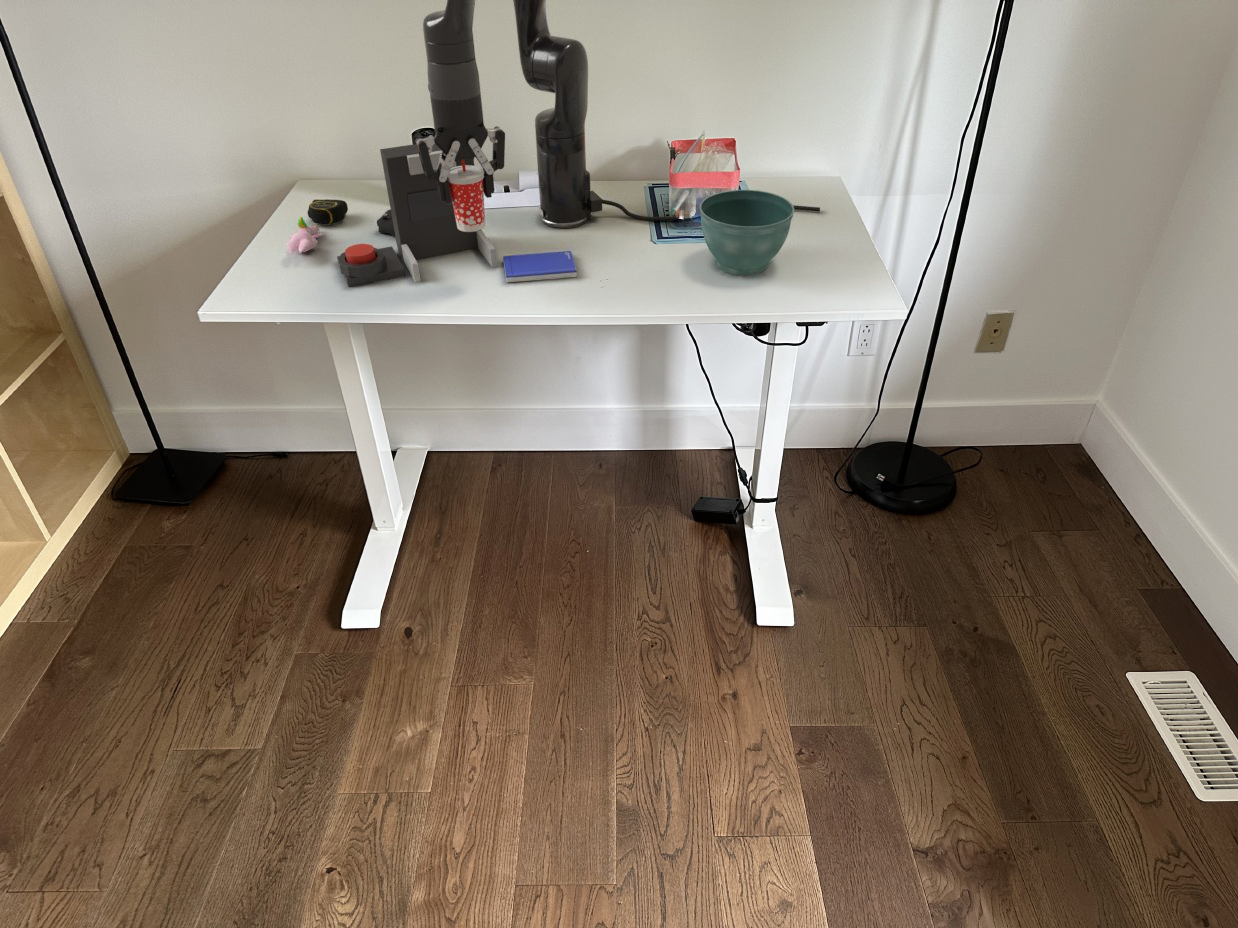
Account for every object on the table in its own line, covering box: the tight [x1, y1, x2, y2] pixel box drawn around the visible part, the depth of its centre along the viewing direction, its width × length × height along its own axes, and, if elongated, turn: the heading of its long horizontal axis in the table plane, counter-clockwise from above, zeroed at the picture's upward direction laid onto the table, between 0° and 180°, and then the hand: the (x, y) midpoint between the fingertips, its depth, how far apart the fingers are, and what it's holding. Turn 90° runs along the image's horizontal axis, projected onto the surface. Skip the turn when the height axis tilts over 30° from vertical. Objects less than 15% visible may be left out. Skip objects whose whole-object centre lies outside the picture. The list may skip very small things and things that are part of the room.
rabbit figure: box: [285, 216, 324, 255], centre depth 160 cm, size 6×6×15 cm
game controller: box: [376, 208, 396, 238], centre depth 168 cm, size 10×5×6 cm
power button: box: [344, 243, 376, 264], centre depth 151 cm, size 5×5×2 cm
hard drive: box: [502, 250, 578, 283], centre depth 154 cm, size 2×8×12 cm
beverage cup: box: [447, 159, 486, 232], centre depth 138 cm, size 6×6×14 cm
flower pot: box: [699, 189, 795, 276], centre depth 153 cm, size 16×16×11 cm
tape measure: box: [307, 199, 349, 226], centre depth 171 cm, size 7×7×4 cm
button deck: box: [336, 246, 406, 288], centre depth 154 cm, size 10×10×4 cm
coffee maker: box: [379, 143, 498, 283], centre depth 153 cm, size 15×14×19 cm
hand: (467, 199), depth 140 cm, fingers closed on beverage cup, 6 cm apart
